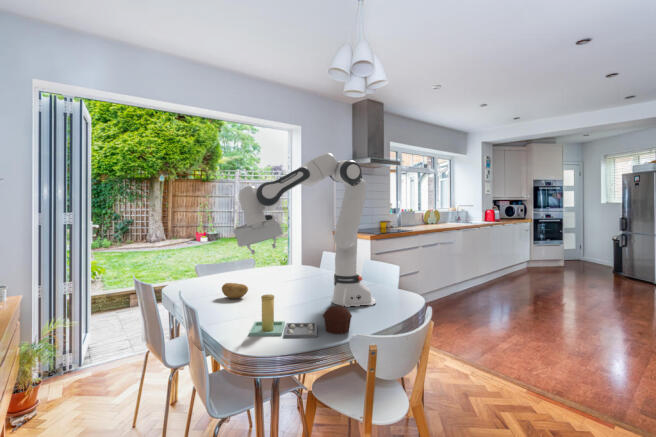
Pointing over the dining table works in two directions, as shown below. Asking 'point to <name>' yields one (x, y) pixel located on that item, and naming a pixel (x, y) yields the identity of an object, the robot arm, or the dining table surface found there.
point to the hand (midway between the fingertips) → (264, 251)
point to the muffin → (337, 319)
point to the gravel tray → (300, 330)
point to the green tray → (277, 331)
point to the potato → (234, 290)
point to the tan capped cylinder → (267, 313)
